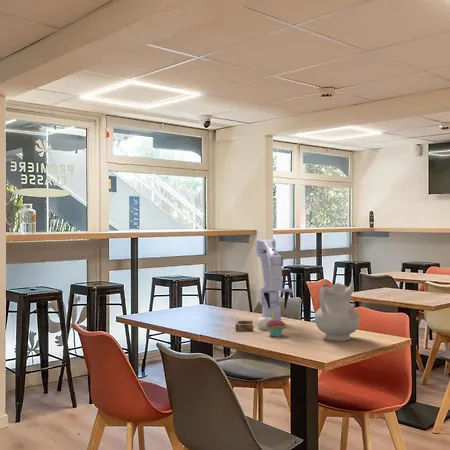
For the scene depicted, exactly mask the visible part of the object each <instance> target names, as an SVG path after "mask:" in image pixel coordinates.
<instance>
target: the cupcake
mask: <svg viewBox="0 0 450 450" xmlns="http://www.w3.org/2000/svg"><path fill="white" fill-rule="evenodd" d="M271 310H272V309H271ZM271 313H272V320H270V321H268V322H267V324H266V327H267V328H268V329H269V330H268V332H269V334H270V336H271V337H281V335H282V334H283V333H282V332H283V329H286V325H285V324H286V323H285V322H283V321H282V319H281V320H276V319H275V320H274V316H273V311H271Z"/></svg>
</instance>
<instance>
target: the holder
mask: <svg viewBox="0 0 450 450" xmlns="http://www.w3.org/2000/svg"><path fill="white" fill-rule="evenodd" d="M235 331H236V332H253V331H254V324H253V320H235Z"/></svg>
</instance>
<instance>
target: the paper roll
mask: <svg viewBox="0 0 450 450" xmlns="http://www.w3.org/2000/svg"><path fill="white" fill-rule="evenodd" d="M270 320H272V318H268V317H262V316H261V317H258V318H257V330H260V331H269V329H268V328H267V327H266V324H267V322H268V321H270Z"/></svg>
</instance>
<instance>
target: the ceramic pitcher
mask: <svg viewBox="0 0 450 450" xmlns="http://www.w3.org/2000/svg"><path fill="white" fill-rule="evenodd" d="M354 285H355V284H354V283H352V282H349V286H346V285H345V284H342V283H340V282H337V283H334V284H332V285H331V287H330V288H329V286H330V285H329V284H328V283H326V284H325V283H324V284H323V285H322V286H321V288H320V291H319V294H318V298H319V304H320V305H319V306H320V307H319V308H318V310H316V311H315V314H314V322H315V324H316V327H317V329H318V330H319V331H321V332H322V333H324V334H325V335H324V339H325V340H328V341H333V342H337V341H338V342H345V341H349V340H352V339H353V338H352V337H351V336H350V335H352V334H353V333H355V332H356V330H357V329H358V328H359V326H360V322H361V317H360V312H359V311H357V310H356V309H355V308H354V307H353V306H352V304H351V298H352V295H353V292H354V288H355V287H354Z"/></svg>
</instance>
